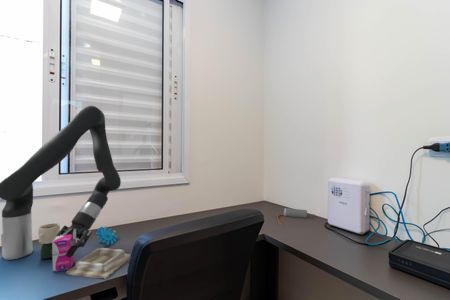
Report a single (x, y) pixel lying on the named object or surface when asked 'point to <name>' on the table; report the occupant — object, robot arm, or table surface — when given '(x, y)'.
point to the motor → (294, 213)
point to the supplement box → (62, 253)
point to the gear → (106, 235)
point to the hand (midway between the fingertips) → (60, 254)
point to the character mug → (47, 238)
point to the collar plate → (99, 263)
